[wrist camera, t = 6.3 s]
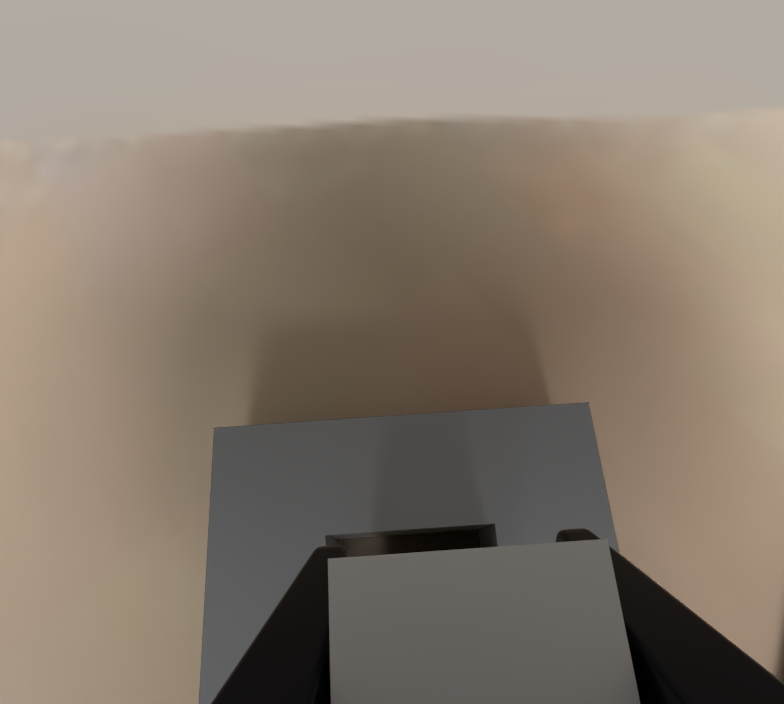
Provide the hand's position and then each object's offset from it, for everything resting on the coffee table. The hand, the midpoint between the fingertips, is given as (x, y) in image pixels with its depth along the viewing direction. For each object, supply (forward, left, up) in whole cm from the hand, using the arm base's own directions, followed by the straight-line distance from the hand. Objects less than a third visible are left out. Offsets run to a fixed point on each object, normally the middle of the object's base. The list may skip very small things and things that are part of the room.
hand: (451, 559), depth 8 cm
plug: (-1, -1, -7) cm, 7 cm away
